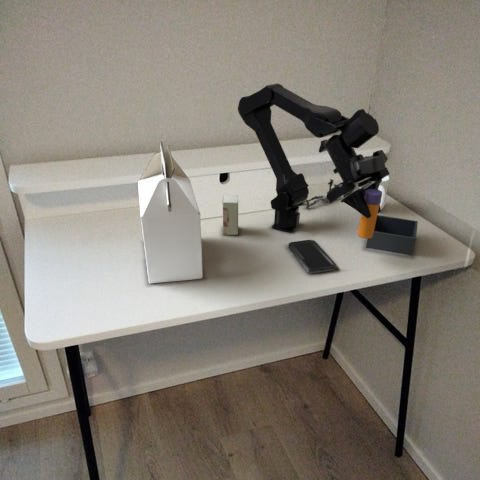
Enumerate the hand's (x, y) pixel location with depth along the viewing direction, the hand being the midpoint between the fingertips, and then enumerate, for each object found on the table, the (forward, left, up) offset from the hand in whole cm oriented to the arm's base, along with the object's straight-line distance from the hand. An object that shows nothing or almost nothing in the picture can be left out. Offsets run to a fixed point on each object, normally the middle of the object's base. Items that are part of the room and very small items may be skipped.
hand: (374, 215), depth 114 cm
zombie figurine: (-22, +31, -14) cm, 41 cm away
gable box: (-45, -23, -14) cm, 52 cm away
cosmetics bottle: (-39, -1, -13) cm, 41 cm away
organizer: (+4, +13, -13) cm, 19 cm away
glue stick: (-1, 0, -6) cm, 6 cm away
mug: (-6, +33, -14) cm, 37 cm away
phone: (-13, -5, -14) cm, 20 cm away
